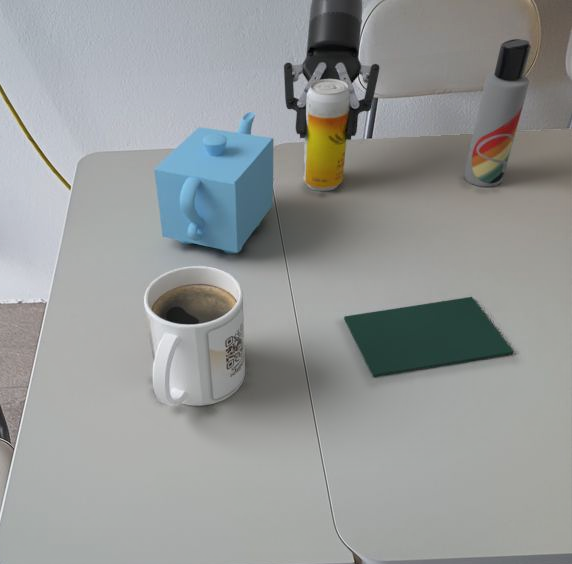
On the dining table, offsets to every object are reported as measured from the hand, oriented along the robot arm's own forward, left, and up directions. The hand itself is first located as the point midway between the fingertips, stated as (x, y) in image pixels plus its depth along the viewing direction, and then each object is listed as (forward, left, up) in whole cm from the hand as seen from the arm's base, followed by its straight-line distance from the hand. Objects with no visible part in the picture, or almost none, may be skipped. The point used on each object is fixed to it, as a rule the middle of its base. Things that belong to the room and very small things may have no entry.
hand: (325, 136), depth 94 cm
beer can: (-1, -2, -9) cm, 9 cm away
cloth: (-2, +35, -8) cm, 36 cm away
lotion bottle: (-25, +3, -9) cm, 26 cm away
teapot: (+16, +6, -9) cm, 20 cm away
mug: (+25, +36, -9) cm, 45 cm away
